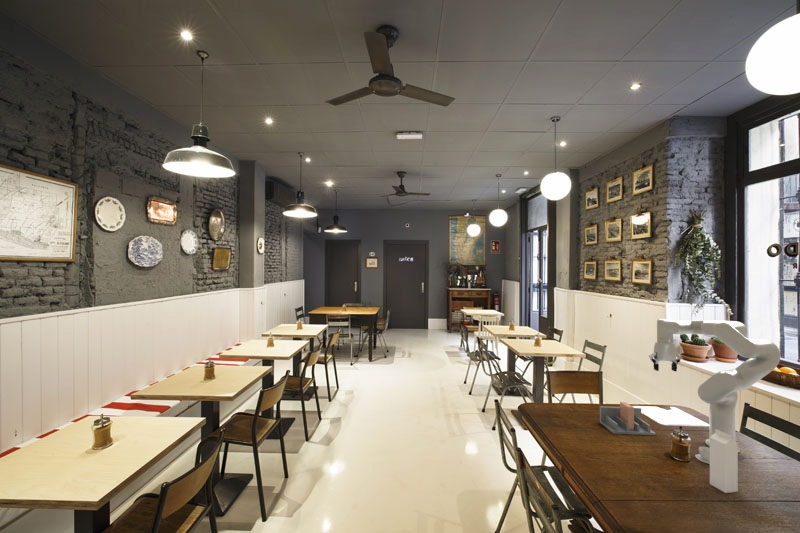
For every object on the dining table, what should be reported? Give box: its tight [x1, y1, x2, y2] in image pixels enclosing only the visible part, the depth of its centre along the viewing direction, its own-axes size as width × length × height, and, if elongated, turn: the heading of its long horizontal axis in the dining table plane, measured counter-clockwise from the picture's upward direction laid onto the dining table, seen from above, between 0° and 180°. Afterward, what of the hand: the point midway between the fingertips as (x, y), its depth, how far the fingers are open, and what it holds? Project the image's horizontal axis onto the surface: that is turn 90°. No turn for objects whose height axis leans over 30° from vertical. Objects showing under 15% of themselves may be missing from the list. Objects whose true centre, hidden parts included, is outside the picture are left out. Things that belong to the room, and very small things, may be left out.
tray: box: [632, 405, 709, 428], centre depth 212 cm, size 28×28×2 cm
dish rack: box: [599, 405, 657, 436], centre depth 194 cm, size 14×22×9 cm, turn 86°
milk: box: [709, 429, 739, 494], centre depth 141 cm, size 6×6×22 cm
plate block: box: [619, 401, 634, 430], centre depth 194 cm, size 8×3×12 cm, turn 176°
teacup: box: [694, 446, 710, 465], centre depth 162 cm, size 10×10×5 cm
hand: (665, 370), depth 201 cm, fingers open, 9 cm apart
